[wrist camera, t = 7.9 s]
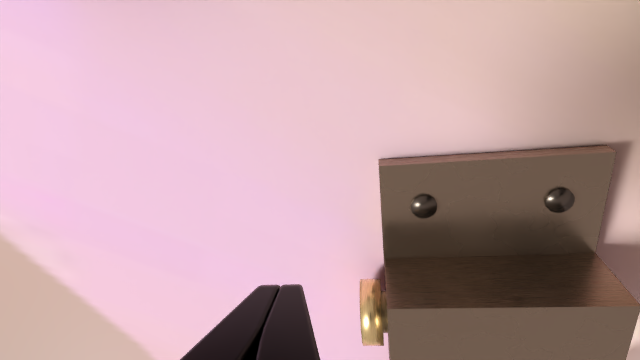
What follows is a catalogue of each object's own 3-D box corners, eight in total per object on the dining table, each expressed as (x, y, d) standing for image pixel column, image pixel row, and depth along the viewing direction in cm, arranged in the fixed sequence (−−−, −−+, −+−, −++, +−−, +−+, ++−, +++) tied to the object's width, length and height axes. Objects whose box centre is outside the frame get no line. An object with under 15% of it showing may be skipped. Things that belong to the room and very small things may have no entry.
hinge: (606, 145, 18) (674, 189, 14) (560, 378, 24) (598, 455, 20) (378, 159, 19) (381, 203, 15) (390, 376, 25) (394, 447, 22)
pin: (603, 260, 20) (643, 307, 17) (591, 310, 21) (627, 361, 18) (360, 266, 21) (359, 310, 18) (364, 312, 23) (363, 360, 20)
